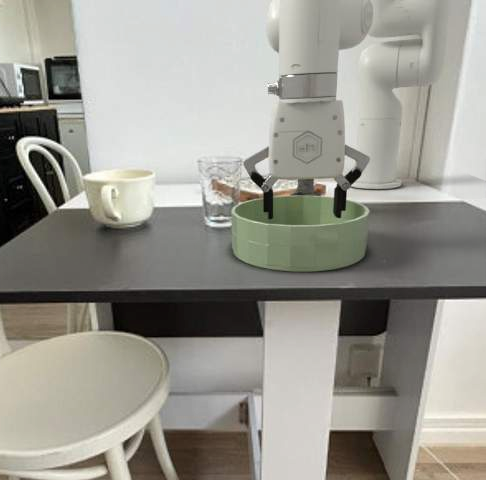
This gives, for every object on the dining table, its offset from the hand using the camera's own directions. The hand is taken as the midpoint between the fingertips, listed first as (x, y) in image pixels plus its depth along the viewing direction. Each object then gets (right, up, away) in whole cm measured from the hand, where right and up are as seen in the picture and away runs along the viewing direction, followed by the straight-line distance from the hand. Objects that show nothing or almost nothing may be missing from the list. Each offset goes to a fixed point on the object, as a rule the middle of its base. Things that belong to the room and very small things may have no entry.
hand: (303, 216), depth 64 cm
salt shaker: (+4, +3, +20) cm, 21 cm away
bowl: (-1, -5, 0) cm, 5 cm away
